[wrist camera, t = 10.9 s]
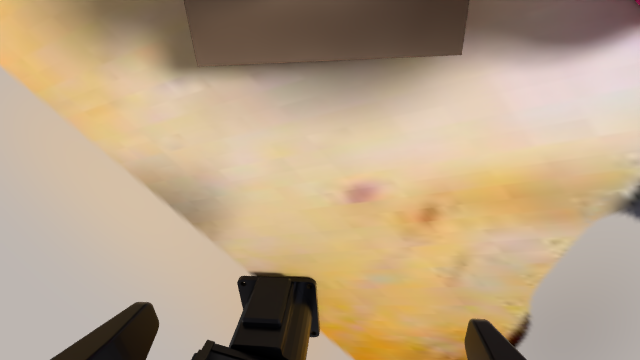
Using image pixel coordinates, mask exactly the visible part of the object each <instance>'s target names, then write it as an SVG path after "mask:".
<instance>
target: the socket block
mask: <svg viewBox="0 0 640 360" xmlns="http://www.w3.org/2000/svg"><path fill="white" fill-rule="evenodd" d="M184 4H185V8H186V13H187V18H188V22H189V27H190V32H191V37H192V41H193V46H194V51H195V56H196V60H197V65H198V67H199V66H222V65H244V64H267V63H290V62H312V61H335V60H357V59H380V58H403V57H425V56H448V55H462V49H463V42H464V34H465V27H466V20H467V13H468V5H469V0H184Z"/></svg>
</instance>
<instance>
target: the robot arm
mask: <svg viewBox="0 0 640 360" xmlns="http://www.w3.org/2000/svg"><path fill="white" fill-rule="evenodd" d="M244 282H245V283H244ZM237 283H238V288H239V292H240V297H241V302H242V306H243V312H242V315H241V317H240V320H239V322H238V325H237V328H236V330H235V332H234V335H233V337H232V340H231V342H230V345H229V347H225V346H222V345H219V344H215V342H213V341H210V340H207V341H206V343H205V345H204V346H203V348H202V350H199V351H198V353H195V354H194V356H193V357H192V360H306V356H307V349H308V343H309V337H317V336H319V332H320V327H319V313H318V300H317V287H316V281H315V280H313V279H310V278H286V277H260V276H241V277H240V278H239V280H238V282H237ZM308 284H310V285H308ZM158 328H159V320H158V318H157V315H156V313H155V310H154V308H153V305H152V304H151V303H149V302H136V303H134V304H133V305H131V306H130V307H128V308H127V309H125V310H124V311H122V312H121V313H119V314H118V315H116V316H115V317H114V318H112V319H110V320H109V321H107V322H106V323H104V324H103V325H101V326H100V327H98V328H97V329H95V330H94V331H92V332H91V333H89V334H88V335H87V336H85V337H83V338H82V339H80V340H79V341H77V342H76V343H74V344H73V345H72V346H70V347H68V348H67V349H65V350H64V351H63V352H61V353H60V354H58V355H56V356H55V357H53V358H52V359H50V360H146V358H147V355H148V353H149V350H150V348H151V346H152V343H153V341H154V338H155V336H156V334H157V331H158ZM465 349H466V354H467V358H468V360H526V359H525V358H524V357H523V356H522V355H521V353H519V351H518V350H517V349H516V348H515V347H514V346H513V345H512V344H511V343H510V342H509V341H508V340H507V339H506V338H505V337H504V336H503V335H502V334H501V333H500V332H499V331H498V330H497V329H496V328H495V327H494V326H493V325H492V324H491V323H490V322H489V321H487V320H485V319H471V320H470V321H469V323H468V328H467V332H466V337H465Z"/></svg>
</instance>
